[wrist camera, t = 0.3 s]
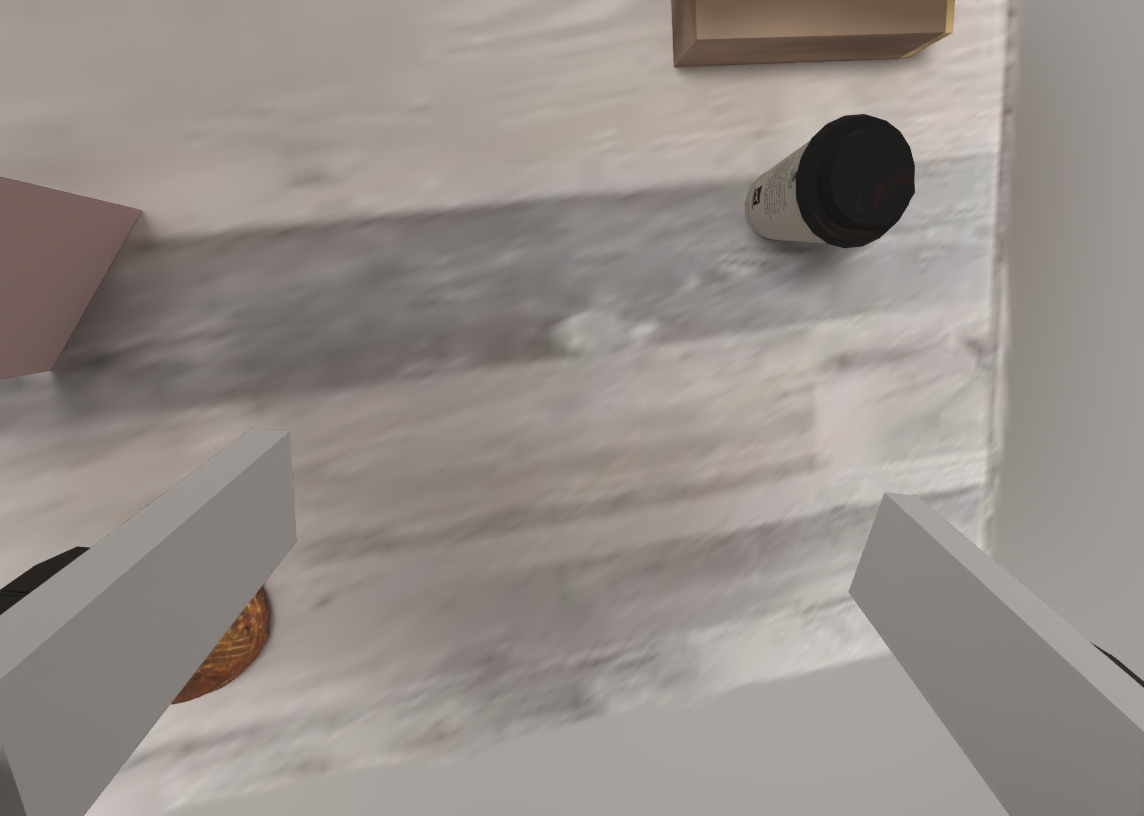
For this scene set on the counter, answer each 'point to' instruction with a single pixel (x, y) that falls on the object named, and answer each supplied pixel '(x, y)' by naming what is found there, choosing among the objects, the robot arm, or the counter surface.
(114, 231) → the greeting card
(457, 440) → the counter surface
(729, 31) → the brown flat square block
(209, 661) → the brown round patterned piece
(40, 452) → the counter surface
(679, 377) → the counter surface
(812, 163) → the coffee cup
